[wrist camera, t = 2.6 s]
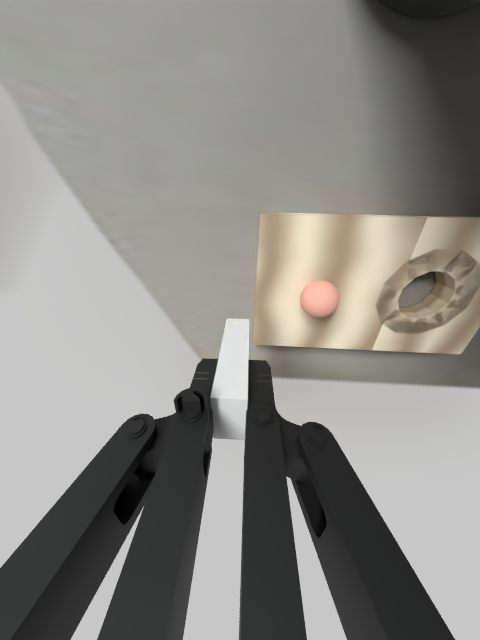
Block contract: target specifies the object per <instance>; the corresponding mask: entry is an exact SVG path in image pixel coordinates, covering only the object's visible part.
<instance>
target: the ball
mask: <svg viewBox="0 0 480 640" xmlns="http://www.w3.org/2000/svg"><path fill="white" fill-rule="evenodd" d="M339 300H340V297H339V292H338V290H337V288H336V287H335V286H334V285H333V284H332V283H330V282H328V281H324V280H317V281H313V282H311V283H309V284H308V285H306V286H305V287H304V289H303V290H302V292H301V295H300V304H301V307H302V308H303V310H304V311H305V312H306V313H307V314H309V315H310V316H313V317H325V316H328V315H330V314H331V313H333V312H334V311H335V310H336V308H337V306H338V304H339Z"/></svg>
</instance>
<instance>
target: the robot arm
mask: <svg viewBox="0 0 480 640" xmlns="http://www.w3.org/2000/svg"><path fill="white" fill-rule="evenodd" d="M381 1H382V2H383V3H385V4H386V5H387V6H389V7H390V8H392V9H394V10H396V11H398V12H400V13H403V14H406V15H410V16H414V17H439V16H444V15H448V14H452V13H455V12H458V11H461V10H463V9H465V8H468V7H470V6H472V5H474V4H476V3H478V2H480V0H381ZM248 357H249V319H228V318H227V321H226V325H225V330H224V335H223V340H222V345H221V349H220V354H219V359H204V358H203V359H202V360H201V362H200V363H199V364H198V365H197V368H196V371H195V374H194V377H193V380H192V383H191V386H190V388H188V389H186V390H183V391H181V392H180V393H179V394H178V395H177V396H176V397H175V399H174V404H175V409H176V413H175V414H173V415H170V416H167V417H163V418H159V419H155V420H154V419H153V417H152V416H150V415H149V414H139V415H135V416H133V417H131V418H129V419H128V420H127V421H126V422H125V423H124V424H123V425H122V426H121V427H120V428H119V429H118V430H117V432H116V433H115V434H114V435H113V436H112V438H111V439H110V440H109V441H108V442H107V443H106V445H105V446H104V447H103V448H102V449H101V450H100V452H99V453H98V454H97V455H96V456H95V457H94V459H93V460H92V461H91V462H90V463H89V465H88V466H87V467H86V468H85V469H84V471H83V472H82V473H81V474H80V475H79V476H78V478H77V479H76V480H75V481H74V482H73V483H72V485H71V486H70V487H69V488H68V489H67V490H66V492H65V493H64V494H63V495H62V496H61V498H60V499H59V500H58V501H57V502H56V504H55V505H54V506H53V507H52V508H51V509H50V510H49V512H48V513H47V514H46V515H45V516H44V517H43V519H42V520H41V521H40V522H39V523H38V525H37V526H36V527H35V528H34V529H33V530H32V532H31V533H30V534H29V535H28V537H27V538H26V539H25V540H24V541H23V542H22V543H21V545H20V546H19V547H18V548H17V549H16V550H15V552H14V553H13V554H12V555H11V556H10V558H9V559H8V560H7V561H6V562H5V563H4V565H3V566H2V567H1V568H0V640H70V639H71V637H72V636H73V634H74V632H75V630H76V628H77V626H78V624H79V623H80V621H81V619H82V617H83V616H84V614H85V612H86V610H87V608H88V606H89V605H90V603H91V601H92V599H93V597H94V595H95V594H96V592H97V590H98V588H99V586H100V585H101V583H102V581H103V579H104V577H105V575H106V574H107V572H108V570H109V568H110V566H111V564H112V563H113V561H114V559H115V557H116V555H117V554H118V552H119V550H120V548H121V546H122V544H123V543H124V541H125V539H126V537H127V535H128V534H129V532H130V530H131V528H132V526H133V524H134V522H135V521H136V519H137V517H138V515H139V514H140V512H141V510H142V508H143V506H144V508H143V511H142V514H141V517H140V520H139V522H138V525H137V528H136V531H135V534H134V537H133V540H132V542H131V546H130V548H129V551H128V554H127V557H126V560H125V563H124V565H123V568H122V571H121V574H120V577H119V580H118V582H117V585H116V588H115V591H114V594H113V597H112V600H111V602H110V605H109V608H108V611H107V614H106V617H105V619H104V623H103V625H102V628H101V631H100V634H99V636H98V639H97V640H183V634H184V627H185V621H186V614H187V608H188V602H189V595H190V589H191V582H192V576H193V569H194V563H195V557H196V549H197V544H198V537H199V531H200V524H201V518H202V511H203V505H204V499H205V492H206V486H207V480H208V473H209V467H210V460H211V453H212V445H211V444H212V438H213V437H214V438H220V439H239V440H245V452H244V487H243V489H244V490H243V523H242V557H241V558H242V559H241V589H240V592H241V593H240V625H239V626H240V627H239V640H307V637H306V629H305V621H304V613H303V605H302V598H301V590H300V582H299V574H298V566H297V558H296V550H295V543H294V534H293V526H292V518H291V511H290V503H289V495H288V487H287V479H286V476H287V477H289V478H291V480H292V484H293V486H294V489H295V492H296V495H297V498H298V500H299V503H300V506H301V509H302V512H303V515H304V518H305V521H306V524H307V526H308V529H309V532H310V535H311V538H312V541H313V543H314V546H315V549H316V552H317V555H318V558H319V560H320V564H321V566H322V569H323V572H324V575H325V578H326V580H327V584H328V586H329V589H330V592H331V595H332V597H333V601H334V603H335V606H336V609H337V612H338V615H339V618H340V621H341V623H342V626H343V629H344V632H345V635H346V638H347V640H455V639H454V637H453V636H452V634H451V632H450V630H449V629H448V627H447V625H446V624H445V622H444V620H443V619H442V617H441V615H440V614H439V612H438V610H437V609H436V607H435V605H434V604H433V602H432V601H431V599H430V597H429V595H428V594H427V592H426V590H425V589H424V587H423V586H422V584H421V582H420V580H419V579H418V577H417V575H416V574H415V572H414V570H413V569H412V567H411V565H410V563H409V562H408V560H407V559H406V557H405V555H404V554H403V552H402V550H401V549H400V547H399V545H398V543H397V542H396V540H395V538H394V537H393V535H392V533H391V532H390V530H389V529H388V527H387V525H386V523H385V522H384V520H383V518H382V517H381V515H380V513H379V512H378V510H377V508H376V507H375V505H374V503H373V501H372V500H371V498H370V496H369V495H368V493H367V492H366V490H365V488H364V486H363V485H362V484H361V481H360V480H359V478H358V477H357V475H356V473H355V471H354V470H353V468H352V466H351V465H350V463H349V461H348V460H347V458H346V456H345V455H344V453H343V451H342V450H341V448H340V446H339V445H338V443H337V441H336V440H335V438H334V436H333V435H332V433H331V432H330V431H329V430H328V429H327V428H326V427H324V426H323V425H321V424H319V423H316V422H307V423H305V424H303V425H302V426H299V425H296V424H293V423H291V422H289V421H287V420H285V419H284V418H282V417H281V416H280V415H279V414H278V412H277V410H276V407H275V402H274V393H273V385H272V376H271V368H270V366H269V364H268V363H267V361H262V360H248ZM144 504H145V505H144Z"/></svg>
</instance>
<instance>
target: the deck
mask: <svg viewBox="0 0 480 640" xmlns="http://www.w3.org/2000/svg"><path fill="white" fill-rule="evenodd" d="M430 271H435V276H436V283H435V285H434V287H433V289H432V291H431V293H430V294H429V295H428V296H427V297H426V298H424V299H423V300H422V301H421V302H420V303H417V304H415V305H412V306H410V307H407V308H403V307H399V305H398V299H399V297H400V294H401V292H402V290H403V288H404V287H405V286H407V285H408V284H409V283H410V282H411V281H412V280H413V279H414V278H416V277H418V276H420V275H423V274H425V273H428V272H430ZM317 280H324V281H328V282H330V283H332V284H333V285H334V286H335V287H336V288H337V290H338V292H339V297H340V300H339V304H338V306H337V308H336V310H335V311H334V312H333V313H331V314H330V315H328V316H325V317H313V316H310V315H309V314H307V313H306V312H305V311H304V310H303V308H302V307H301V304H300V295H301V292H302V290H303V289H304V287H305V286H306V285H308V284H309V283H311V282H313V281H317ZM479 327H480V217H451V216H403V215H356V214H309V213H262V212H259V229H258V246H257V264H256V282H255V300H254V318H253V345H273V346H294V347H315V348H336V349H357V350H378V351H399V352H420V353H441V354H461V353H462V352H463V350H464V349H465V348H466V346H467V345H468V343H469V342H470V340H471V339H472V338H473V336H474V335H475V333H476V332H477V330H478V329H479Z"/></svg>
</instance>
